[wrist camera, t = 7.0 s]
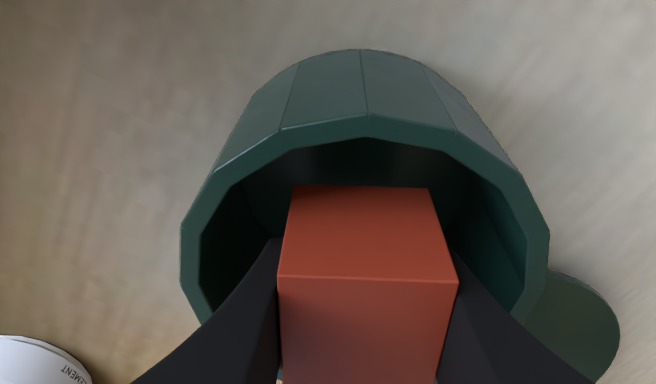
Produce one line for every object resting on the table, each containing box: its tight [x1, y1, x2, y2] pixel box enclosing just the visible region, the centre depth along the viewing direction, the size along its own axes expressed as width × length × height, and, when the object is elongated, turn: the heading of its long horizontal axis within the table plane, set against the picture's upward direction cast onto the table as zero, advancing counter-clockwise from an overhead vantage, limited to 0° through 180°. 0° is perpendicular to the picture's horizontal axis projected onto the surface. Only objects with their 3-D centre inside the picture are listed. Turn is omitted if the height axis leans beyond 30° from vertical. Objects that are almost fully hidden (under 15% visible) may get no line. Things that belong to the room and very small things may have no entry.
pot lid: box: [434, 270, 620, 384], centre depth 21 cm, size 11×11×5 cm
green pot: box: [179, 49, 550, 383], centre depth 15 cm, size 10×10×6 cm
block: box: [277, 184, 459, 384], centre depth 13 cm, size 4×4×4 cm
